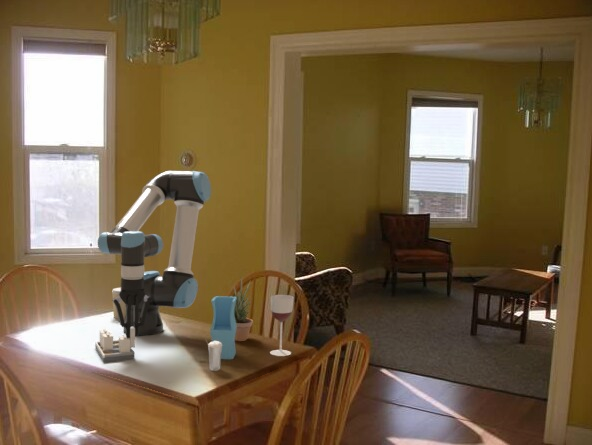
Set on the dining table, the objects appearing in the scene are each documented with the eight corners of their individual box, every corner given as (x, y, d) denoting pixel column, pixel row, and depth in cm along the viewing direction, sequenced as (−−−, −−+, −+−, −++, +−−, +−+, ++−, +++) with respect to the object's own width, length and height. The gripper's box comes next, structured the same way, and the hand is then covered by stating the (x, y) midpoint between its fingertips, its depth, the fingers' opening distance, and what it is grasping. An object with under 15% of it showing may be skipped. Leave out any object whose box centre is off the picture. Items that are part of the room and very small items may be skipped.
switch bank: (124, 345, 223) (124, 339, 222) (134, 359, 208) (134, 352, 207) (95, 348, 218) (95, 342, 218) (103, 362, 203) (103, 355, 203)
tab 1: (108, 343, 219) (108, 328, 218) (110, 346, 215) (110, 331, 215) (99, 344, 217) (99, 329, 217) (101, 346, 214) (101, 331, 214)
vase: (209, 358, 211) (211, 300, 209) (213, 351, 219) (215, 295, 217) (232, 359, 211) (234, 301, 209) (236, 352, 218) (237, 296, 217)
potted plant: (257, 340, 235) (258, 275, 233) (235, 343, 230) (237, 277, 228) (243, 334, 243) (244, 271, 241) (221, 337, 238) (223, 273, 236)
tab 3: (127, 349, 211) (127, 334, 211) (130, 352, 208) (130, 337, 208) (118, 350, 210) (118, 335, 210) (120, 353, 207) (120, 338, 206)
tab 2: (111, 347, 214) (111, 332, 214) (113, 350, 211) (113, 334, 210) (102, 347, 213) (102, 332, 212) (103, 351, 209) (104, 335, 209)
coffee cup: (139, 317, 266) (139, 289, 265) (120, 320, 258) (120, 292, 257) (125, 313, 272) (126, 286, 271) (107, 316, 264) (107, 289, 263)
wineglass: (295, 350, 223) (296, 296, 221) (286, 357, 215) (288, 300, 213) (274, 348, 225) (276, 293, 224) (265, 354, 217) (267, 298, 216)
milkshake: (205, 367, 202) (206, 336, 201) (222, 367, 202) (222, 337, 201) (204, 371, 197) (205, 340, 196) (221, 371, 198) (222, 340, 197)
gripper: (149, 274, 214) (148, 341, 216) (110, 276, 208) (109, 345, 210) (154, 278, 208) (153, 347, 210) (114, 280, 202) (114, 351, 204)
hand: (131, 346), depth 210 cm, fingers closed
